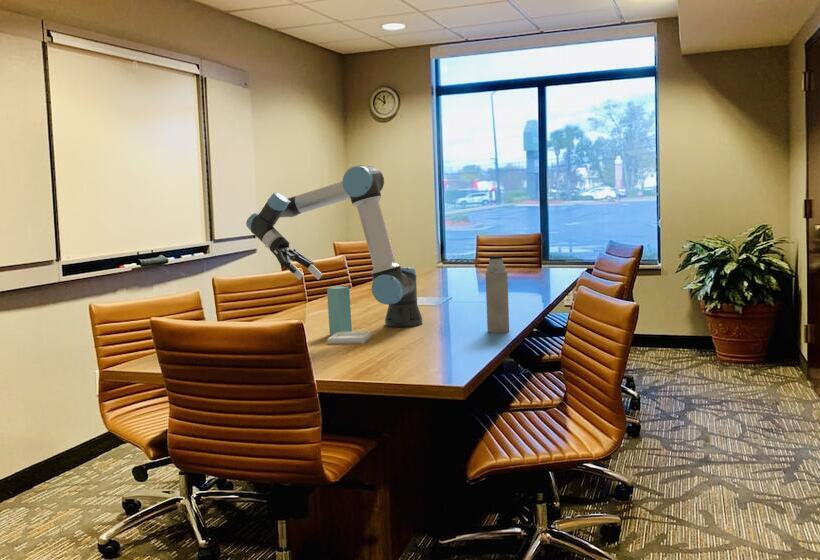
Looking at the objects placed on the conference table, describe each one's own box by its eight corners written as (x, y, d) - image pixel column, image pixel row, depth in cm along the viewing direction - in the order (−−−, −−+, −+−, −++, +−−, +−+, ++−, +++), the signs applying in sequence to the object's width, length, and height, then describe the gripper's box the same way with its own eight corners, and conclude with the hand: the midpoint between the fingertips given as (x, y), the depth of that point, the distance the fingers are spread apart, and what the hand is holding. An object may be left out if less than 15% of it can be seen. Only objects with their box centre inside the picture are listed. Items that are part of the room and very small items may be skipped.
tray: (371, 336, 276) (371, 331, 276) (363, 343, 263) (363, 338, 263) (337, 337, 278) (337, 331, 278) (327, 344, 265) (327, 338, 265)
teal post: (329, 334, 284) (326, 288, 283) (341, 332, 289) (338, 286, 287) (340, 336, 280) (337, 288, 279) (351, 333, 285) (349, 286, 283)
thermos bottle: (491, 328, 281) (489, 255, 278) (512, 329, 277) (509, 254, 274) (484, 332, 274) (481, 256, 271) (505, 333, 270) (502, 256, 267)
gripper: (289, 251, 310) (322, 284, 303) (252, 249, 287) (287, 284, 280) (298, 237, 308) (332, 269, 301) (262, 234, 285) (298, 269, 278)
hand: (311, 277), depth 290 cm, fingers open, 13 cm apart
